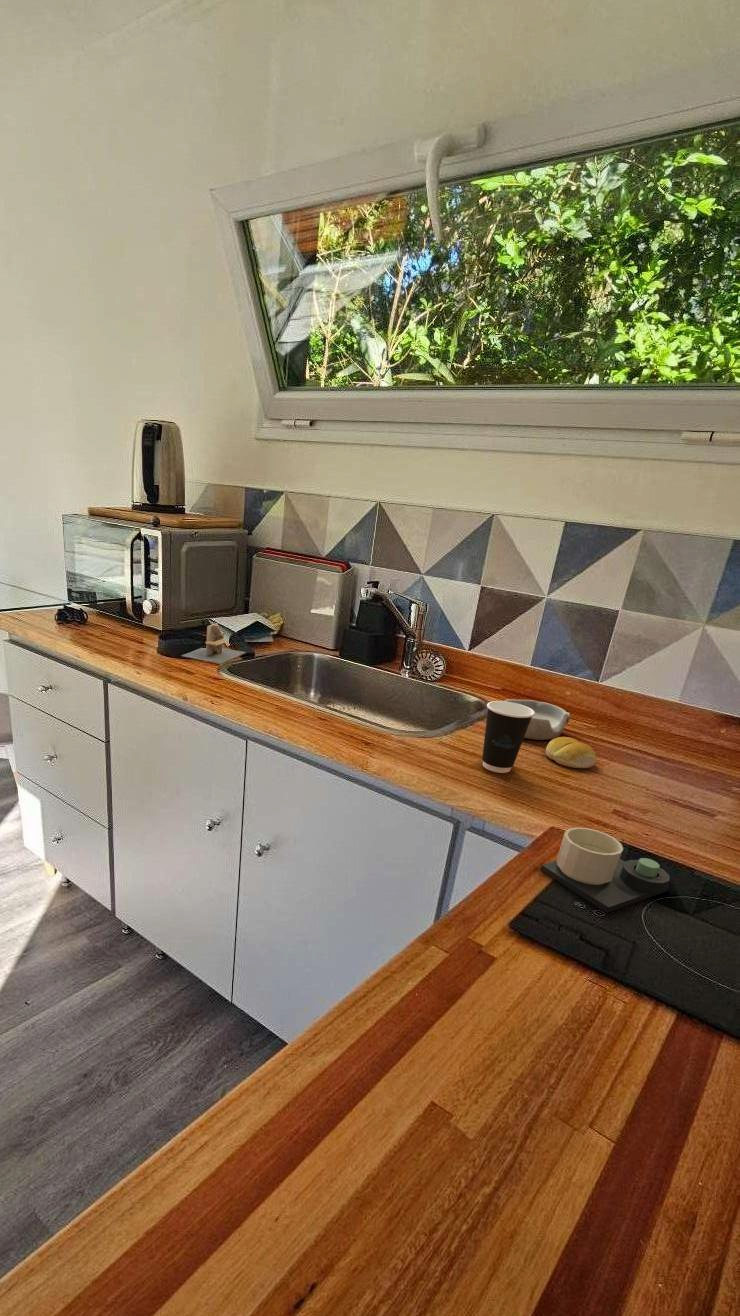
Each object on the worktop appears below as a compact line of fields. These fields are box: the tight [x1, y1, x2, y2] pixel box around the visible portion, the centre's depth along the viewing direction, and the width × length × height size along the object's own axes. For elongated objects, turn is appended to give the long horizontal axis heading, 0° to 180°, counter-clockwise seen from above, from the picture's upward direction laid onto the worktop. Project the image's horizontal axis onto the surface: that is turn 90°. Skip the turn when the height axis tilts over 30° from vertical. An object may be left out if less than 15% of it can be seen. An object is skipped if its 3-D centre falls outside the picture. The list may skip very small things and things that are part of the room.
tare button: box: [635, 857, 661, 878], centre depth 83 cm, size 2×2×2 cm
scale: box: [539, 858, 671, 914], centre depth 84 cm, size 12×11×2 cm
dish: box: [504, 699, 571, 741], centre depth 137 cm, size 14×14×5 cm
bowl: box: [555, 827, 624, 885], centre depth 84 cm, size 7×7×5 cm
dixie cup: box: [481, 700, 535, 774], centre depth 115 cm, size 8×8×11 cm
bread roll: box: [545, 736, 598, 769], centre depth 124 cm, size 8×9×4 cm
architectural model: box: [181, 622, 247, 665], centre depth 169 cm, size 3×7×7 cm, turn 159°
